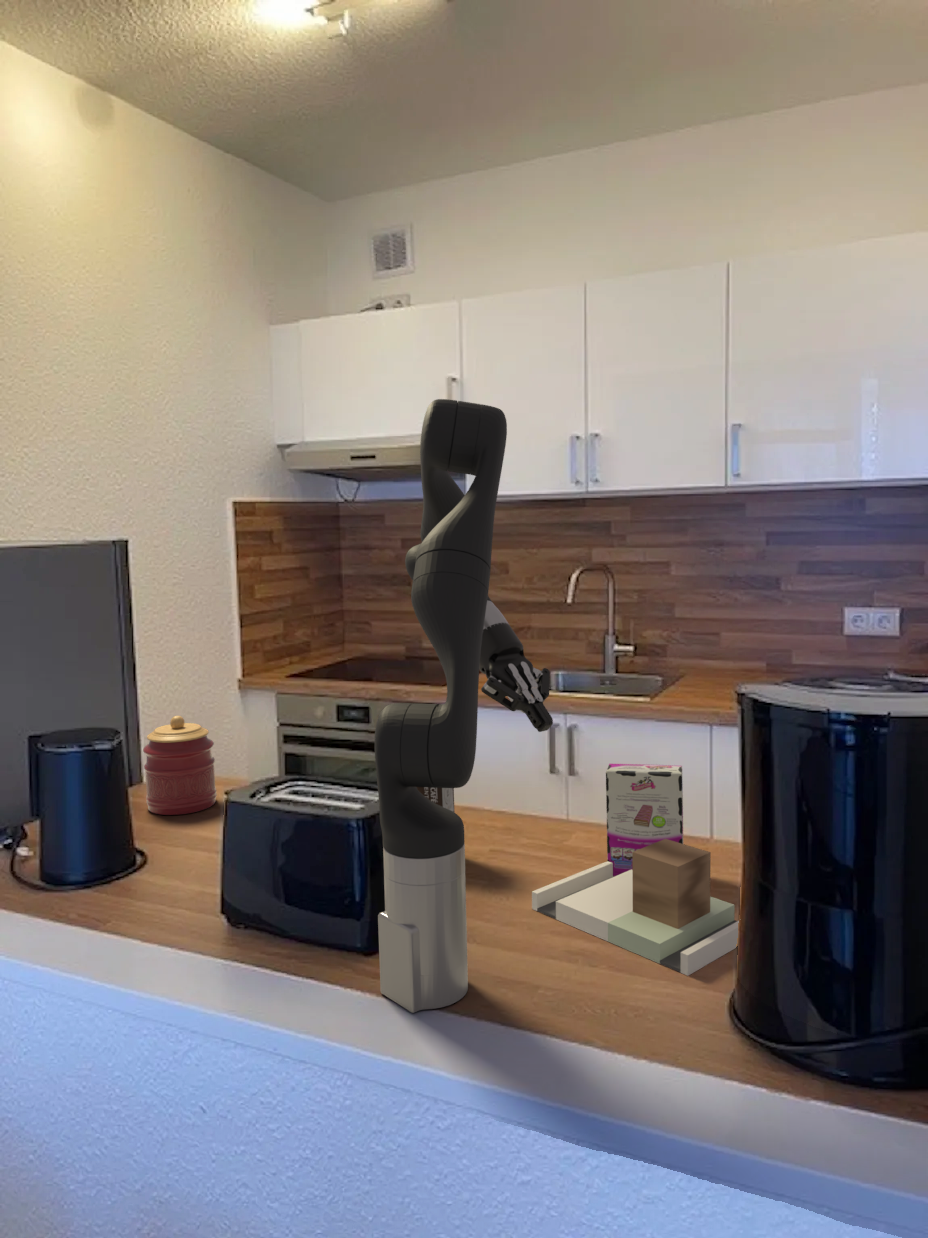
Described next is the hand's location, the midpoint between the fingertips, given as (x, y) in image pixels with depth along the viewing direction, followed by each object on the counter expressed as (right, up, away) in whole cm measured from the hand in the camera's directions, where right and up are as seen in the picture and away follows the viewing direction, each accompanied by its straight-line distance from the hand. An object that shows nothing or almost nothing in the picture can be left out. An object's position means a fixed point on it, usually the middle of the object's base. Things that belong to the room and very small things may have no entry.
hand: (546, 727), depth 131 cm
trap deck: (+12, -24, -11) cm, 29 cm away
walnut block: (+15, -22, -14) cm, 30 cm away
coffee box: (-18, -23, +13) cm, 32 cm away
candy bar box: (+15, -23, +5) cm, 28 cm away
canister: (-66, -21, +44) cm, 82 cm away
